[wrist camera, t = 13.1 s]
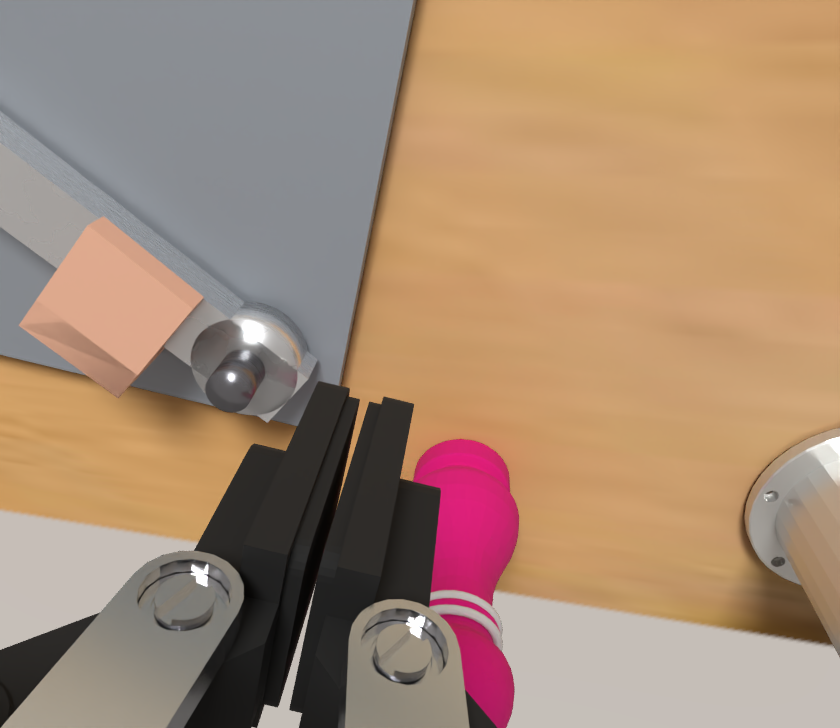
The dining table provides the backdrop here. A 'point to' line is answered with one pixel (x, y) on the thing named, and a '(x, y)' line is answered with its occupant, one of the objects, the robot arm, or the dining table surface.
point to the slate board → (215, 148)
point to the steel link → (219, 309)
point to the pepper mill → (473, 562)
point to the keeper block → (110, 307)
